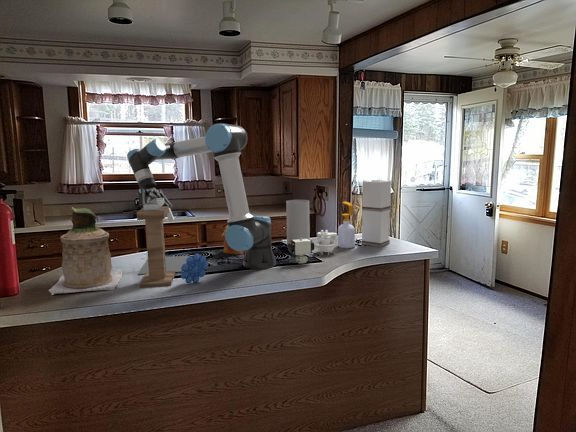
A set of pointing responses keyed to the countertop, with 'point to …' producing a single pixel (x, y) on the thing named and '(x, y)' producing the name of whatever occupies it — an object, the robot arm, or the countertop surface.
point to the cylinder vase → (297, 220)
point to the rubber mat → (168, 264)
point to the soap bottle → (346, 230)
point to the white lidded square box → (376, 212)
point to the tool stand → (155, 248)
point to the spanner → (154, 204)
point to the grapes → (194, 268)
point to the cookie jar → (86, 257)
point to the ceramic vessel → (227, 248)
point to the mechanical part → (326, 241)
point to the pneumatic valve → (301, 249)
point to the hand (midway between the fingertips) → (162, 221)
